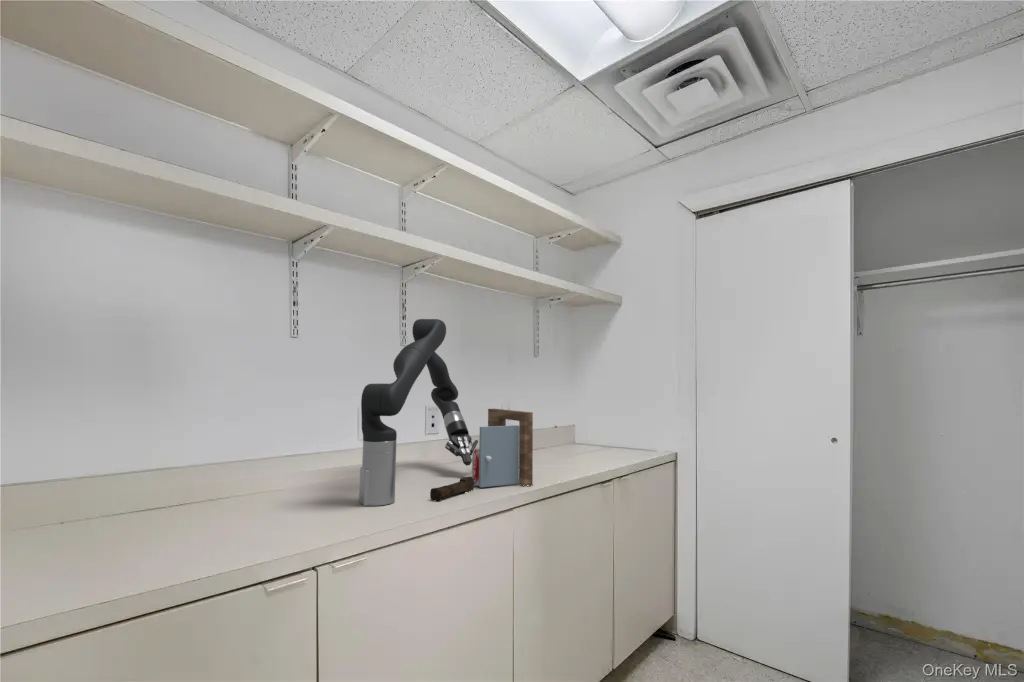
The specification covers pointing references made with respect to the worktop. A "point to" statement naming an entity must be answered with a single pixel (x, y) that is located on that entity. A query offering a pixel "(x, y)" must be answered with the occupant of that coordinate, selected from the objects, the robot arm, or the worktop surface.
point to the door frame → (525, 438)
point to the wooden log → (452, 489)
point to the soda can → (475, 466)
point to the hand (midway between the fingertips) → (468, 464)
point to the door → (498, 455)
